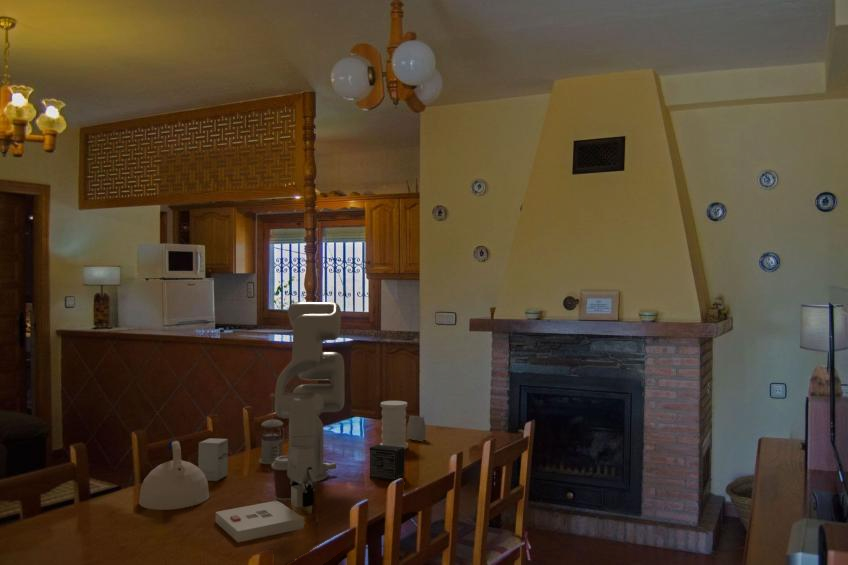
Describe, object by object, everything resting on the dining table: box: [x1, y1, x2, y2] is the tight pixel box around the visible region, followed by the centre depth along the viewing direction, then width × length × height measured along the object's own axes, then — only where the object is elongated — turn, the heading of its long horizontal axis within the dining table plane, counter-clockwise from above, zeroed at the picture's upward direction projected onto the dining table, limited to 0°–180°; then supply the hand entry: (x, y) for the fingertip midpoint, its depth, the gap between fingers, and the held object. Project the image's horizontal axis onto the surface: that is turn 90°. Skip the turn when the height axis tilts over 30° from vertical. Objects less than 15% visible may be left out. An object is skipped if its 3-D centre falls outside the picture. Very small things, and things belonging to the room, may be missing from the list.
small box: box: [369, 444, 405, 482], centre depth 232 cm, size 11×6×10 cm, turn 65°
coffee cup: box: [270, 455, 291, 502], centre depth 210 cm, size 9×9×12 cm
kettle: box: [138, 439, 210, 511], centre depth 208 cm, size 20×21×18 cm
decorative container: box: [379, 400, 409, 450], centre depth 276 cm, size 12×12×18 cm
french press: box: [258, 393, 285, 465], centre depth 255 cm, size 10×12×25 cm
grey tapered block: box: [406, 415, 427, 442], centre depth 289 cm, size 4×7×10 cm, turn 61°
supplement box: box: [197, 437, 229, 482], centre depth 231 cm, size 7×7×13 cm
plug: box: [290, 483, 313, 515], centre depth 196 cm, size 5×5×8 cm
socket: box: [215, 500, 305, 543], centre depth 185 cm, size 18×18×3 cm
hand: (302, 501), depth 196 cm, fingers open, 7 cm apart
